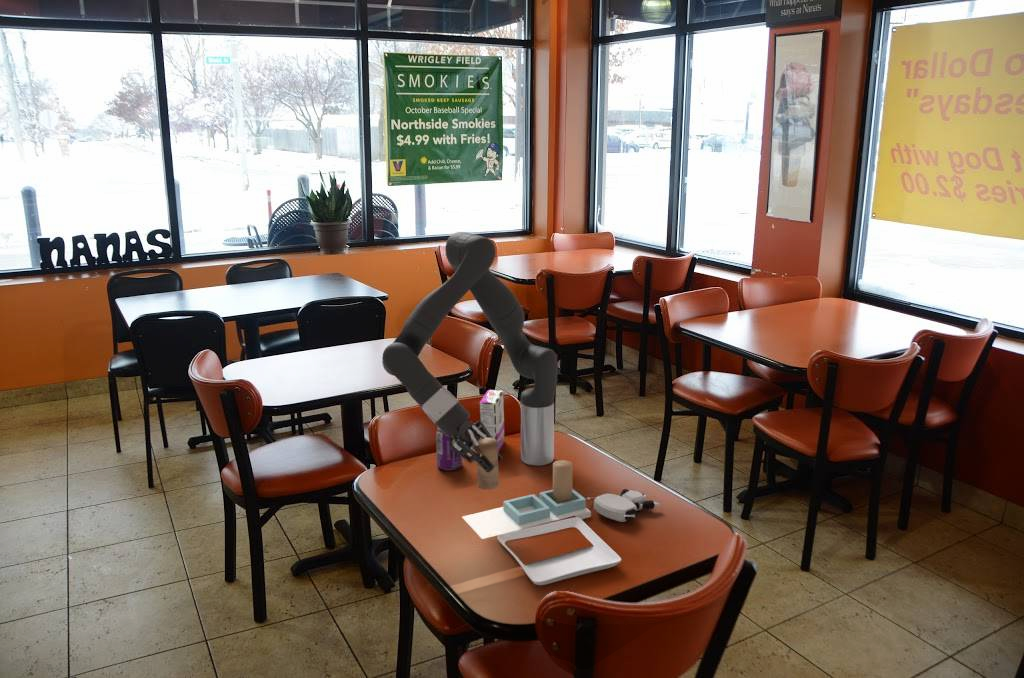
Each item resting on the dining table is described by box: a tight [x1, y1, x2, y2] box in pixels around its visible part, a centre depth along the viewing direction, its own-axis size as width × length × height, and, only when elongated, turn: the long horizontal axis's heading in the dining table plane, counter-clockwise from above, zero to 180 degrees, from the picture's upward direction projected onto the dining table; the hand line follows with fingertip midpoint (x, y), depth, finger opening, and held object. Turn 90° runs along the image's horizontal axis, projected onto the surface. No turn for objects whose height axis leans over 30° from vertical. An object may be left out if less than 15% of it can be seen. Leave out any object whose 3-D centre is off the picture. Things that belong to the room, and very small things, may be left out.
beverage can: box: [435, 426, 464, 471], centre depth 226 cm, size 7×7×12 cm
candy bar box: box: [478, 389, 506, 454], centre depth 237 cm, size 11×5×16 cm, turn 168°
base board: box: [461, 459, 592, 540], centre depth 196 cm, size 12×29×12 cm, turn 116°
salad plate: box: [496, 516, 622, 586], centre depth 180 cm, size 21×21×3 cm
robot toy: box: [586, 488, 661, 523], centre depth 200 cm, size 12×4×15 cm
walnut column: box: [476, 438, 500, 491], centre depth 189 cm, size 5×5×11 cm
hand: (495, 465), depth 188 cm, fingers closed on walnut column, 4 cm apart
